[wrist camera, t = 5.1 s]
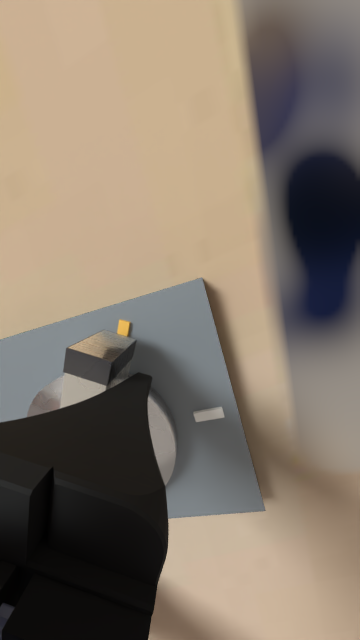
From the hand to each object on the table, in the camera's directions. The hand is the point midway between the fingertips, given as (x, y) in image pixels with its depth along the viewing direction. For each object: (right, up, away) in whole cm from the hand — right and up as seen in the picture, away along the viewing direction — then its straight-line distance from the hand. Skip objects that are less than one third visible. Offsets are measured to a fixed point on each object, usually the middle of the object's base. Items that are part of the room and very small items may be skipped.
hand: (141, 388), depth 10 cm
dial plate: (-3, -4, +5) cm, 7 cm away
